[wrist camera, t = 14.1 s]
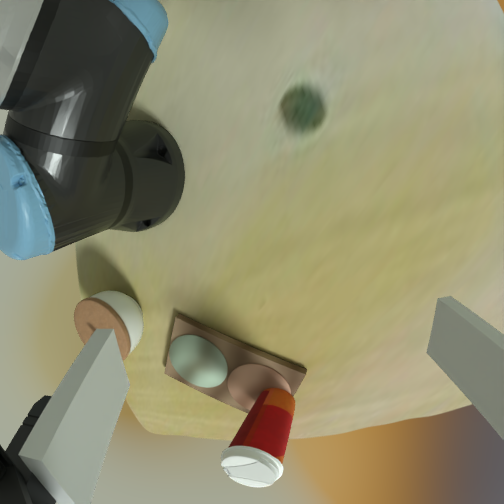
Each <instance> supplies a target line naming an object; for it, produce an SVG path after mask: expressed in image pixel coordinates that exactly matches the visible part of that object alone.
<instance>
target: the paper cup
mask: <svg viewBox="0 0 504 504" xmlns="http://www.w3.org/2000/svg"><path fill="white" fill-rule="evenodd" d="M294 410H295V400H294V398H293V396H292V395H291V394H290V393H289V392H287V391H285V390H283V389H280V388H268V389H265V390H264V391H262V392H261V394H260V395H259V396H258V398H257V400H256V401H255V403H254V405H253V407H252V408H251V410H250V412H249V413H248V415H247V417H246V419H245V420H244V422H243V424H242V425H241V427H240V429H239V431H238V432H237V434H236V436H235V437H234V439H233V441H232V442H231V444H230V446H229V447H228V448H227V449H225V450H224V451H223V452H222V455H221V460H222V462H221V466H223V467H224V468H223V469H224V471H225V472H226V474H228V476H229V477H230V478H231V479H233V480H234V481H236V482H238V483H240V484H243V485H246V486H251V487H267V486H270V485H272V484H273V482H274V481H275V480H277V479H278V478H279V477H280V476H281V475H282V472H283V469H284V468H283V465H282V462H283V458H284V454H285V450H286V446H287V442H288V438H289V433H290V429H291V424H292V420H293V415H294Z"/></svg>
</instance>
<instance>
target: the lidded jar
mask: <svg viewBox="0 0 504 504" xmlns="http://www.w3.org/2000/svg"><path fill="white" fill-rule="evenodd" d="M74 321H75V326H76V329H77V331H78V334H79V336H80V338H81V340H82V341H83V343H84V345H86V343H87V342H88V340H89V339H90V337H91V336H92V334H93V333H94V331H95V330H96V329H114V332H115V335H116V339H117V343H118V347H119V350H120V354H121V357H122V360H124V359H125V358H126V357H127V356H128V355H129V354H130V353H131V352H132V351H133V350H134V349H135V347H136V346H137V345H138V343H139V341H140V340H141V337H142V334H143V329H144V322H143V313H142V310H141V308H140V306H139V305H138V303H137V302H136V301H135V300H134V299H133V298H132V297H130V296H128V295H125V294H124V293H121V292H118V291H103V292H99V293H97V294H94V295H92V296H90V297H88V298H86V299H83V300H82V301H81V302H79V303H78V304H77V306H76V308H75V312H74Z"/></svg>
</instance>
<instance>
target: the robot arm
mask: <svg viewBox="0 0 504 504" xmlns="http://www.w3.org/2000/svg"><path fill="white" fill-rule="evenodd" d="M167 28H168V18H167V13H166V11H165V9H164V7H163V6H162V5H161V4H160V2H159V1H158V0H0V109H5V110H9V112H8V116H7V120H6V124H5V128H4V132H3V135H0V250H1V251H2V252H3V253H5V254H6V255H7V256H9V257H11V258H13V259H16V260H26V259H29V258H32V257H36V256H39V255H46V254H49V253H51V252H53V251H55V250H58V249H60V248H62V247H65V246H67V245H69V244H72V243H74V242H77V241H79V240H82V239H84V238H87V237H89V236H92V235H94V234H97V233H99V232H102V231H104V230H107V229H113V230H121V231H129V232H138V231H144V230H147V229H149V228H152V227H155V226H157V225H159V224H161V223H162V222H164V221H165V220H166V219H167V218H168V217H169V216H170V215H171V214H172V213H173V212H174V210H175V209H176V207H177V205H178V203H179V201H180V198H181V196H182V192H183V188H184V180H185V170H184V163H183V158H182V155H181V152H180V149H179V147H178V145H177V143H176V142H175V140H174V139H173V137H172V136H171V135H170V134H169V133H168V132H167V131H166V130H165V129H164V128H162V127H161V126H159V125H157V124H155V123H152V122H148V121H139V120H130V121H126V119H127V117H128V114H129V112H130V110H131V107H132V105H133V102H134V100H135V98H136V95H137V93H138V91H139V88H140V86H141V84H142V82H143V79H144V77H145V75H146V73H147V71H148V69H149V66H150V64H151V63H153V62H154V61H155V59H156V57H157V50H158V48H159V46H160V43H161V41H162V39H163V37H164V35H165V33H166V30H167ZM427 354H428V355H429V356H430V357H431V358H432V359H433V360H434V361H435V362H436V363H437V364H438V366H439V367H440V368H441V369H442V370H443V371H444V372H445V373H446V374H447V375H448V377H449V378H450V379H451V380H452V381H453V382H454V383H455V384H456V385H457V387H458V388H459V389H460V390H461V391H462V392H463V393H464V394H465V396H466V397H467V398H468V399H469V400H470V401H471V402H472V404H473V405H474V406H475V407H476V408H477V409H478V410H479V411H480V413H481V414H482V415H483V416H484V417H485V419H486V420H487V421H488V422H489V423H490V425H491V426H492V427H493V428H494V429H495V430H496V432H497V433H498V434H499V435H500V437H501V438H502V439H503V440H504V335H503V334H502V333H501V332H499V331H498V330H497V329H495V328H494V327H493V326H491V325H490V324H489V323H487V322H486V321H485V320H483V319H482V318H481V317H479V316H478V315H476V314H475V313H474V312H472V311H471V310H470V309H468V308H467V307H465V306H464V305H463V304H461V303H460V302H458V301H457V300H456V299H454V298H453V297H451V296H448V297H443V298H438V299H437V305H436V311H435V316H434V321H433V326H432V331H431V336H430V340H429V344H428V349H427ZM129 387H130V383H129V380H128V377H127V374H126V370H125V367H124V364H123V360H122V357H121V354H120V350H119V347H118V343H117V339H116V335H115V332H114V329H96V330H95V331H94V333H93V334H92V336H91V337H90V339H89V340H88V342H87V343H86V345H85V346H84V348H83V349H82V351H81V352H80V354H79V355H78V356H77V358H76V360H75V361H74V363H73V364H72V366H71V367H70V369H69V370H68V372H67V373H66V375H65V376H64V378H63V380H62V381H61V383H60V384H59V386H58V388H57V389H56V391H55V392H54V394H53V396H44V397H42V398H41V399H40V400H39V401H38V402H36V403H35V404H34V405H33V407H32V409H31V410H30V412H29V413H28V417H26V418H25V420H24V421H23V425H21V426H20V428H19V429H18V431H17V433H16V434H15V436H14V438H13V439H12V441H11V443H10V444H9V446H8V448H7V450H6V451H4V449H3V448H2V447H1V445H0V504H55V503H56V502H57V503H58V504H91V500H92V497H93V493H94V490H95V487H96V484H97V480H98V477H99V474H100V471H101V467H102V464H103V461H104V458H105V455H106V452H107V449H108V446H109V443H110V440H111V437H112V434H113V431H114V428H115V426H116V423H117V420H118V417H119V414H120V411H121V409H122V406H123V403H124V400H125V398H126V395H127V392H128V389H129Z"/></svg>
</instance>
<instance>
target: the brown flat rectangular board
mask: <svg viewBox="0 0 504 504" xmlns="http://www.w3.org/2000/svg"><path fill="white" fill-rule="evenodd" d="M306 372H307V369H305V368H302V367H300V366H297V365H295V364H292V363H290V362H287V361H285V360H282V359H280V358H277V357H275V356H272V355H270V354H268V353H265V352H263V351H260V350H258V349H256V348H253V347H251V346H249V345H246V344H244V343H242V342H240V341H237V340H235V339H233V338H231V337H228V336H226V335H224V334H222V333H219V332H217V331H215V330H213V329H211V328H209V327H206V326H204V325H202V324H200V323H198V322H196V321H194V320H192V319H190V318H187V317H185V316H183V315H181V314H178V315H177V316H176V317H175V322H174V327H173V332H172V337H171V342H170V347H169V352H168V357H167V363H166V368H165V374H167V375H168V376H170V377H172V378H174V379H176V380H178V381H180V382H182V383H184V384H186V385H188V386H190V387H192V388H194V389H196V390H198V391H200V392H202V393H204V394H206V395H208V396H210V397H213V398H215V399H217V400H219V401H221V402H223V403H226V404H228V405H230V406H232V407H235V408H237V409H239V410H241V411H244V412H246V413H249V412H250V410H251V408H252V407H253V405H254V403H255V401H256V400H257V398H258V396H259V395H260V394H261V392H262V391H264V390H265V389H268V388H280V389H283V390H285V391H287V392H289V393H290V394H291V395H292V396H294V394H295V393H296V391H297V389H298V387H299V386H300V384H301V382H302V380H303V379H304V377H305V375H306Z"/></svg>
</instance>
